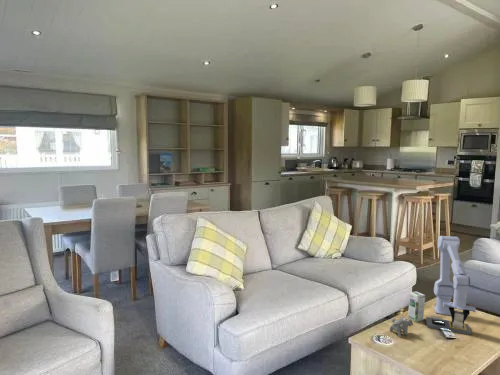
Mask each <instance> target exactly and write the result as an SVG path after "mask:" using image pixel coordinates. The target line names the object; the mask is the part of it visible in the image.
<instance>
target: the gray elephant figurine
mask: <svg viewBox="0 0 500 375" xmlns="http://www.w3.org/2000/svg"><path fill="white" fill-rule="evenodd" d="M391 323H392V324H391V325H390V327H389V332H392V331H395V332H397V337H398V338H401V337H402V334H401V331H402V332H403V333H404V336H408V335H409V333H408V328H409V327H412V326H414V323H413V320H411V319H407V318H406V317H404V316H402V315H400V318H399V319H395V318H393V319H391Z"/></svg>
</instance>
